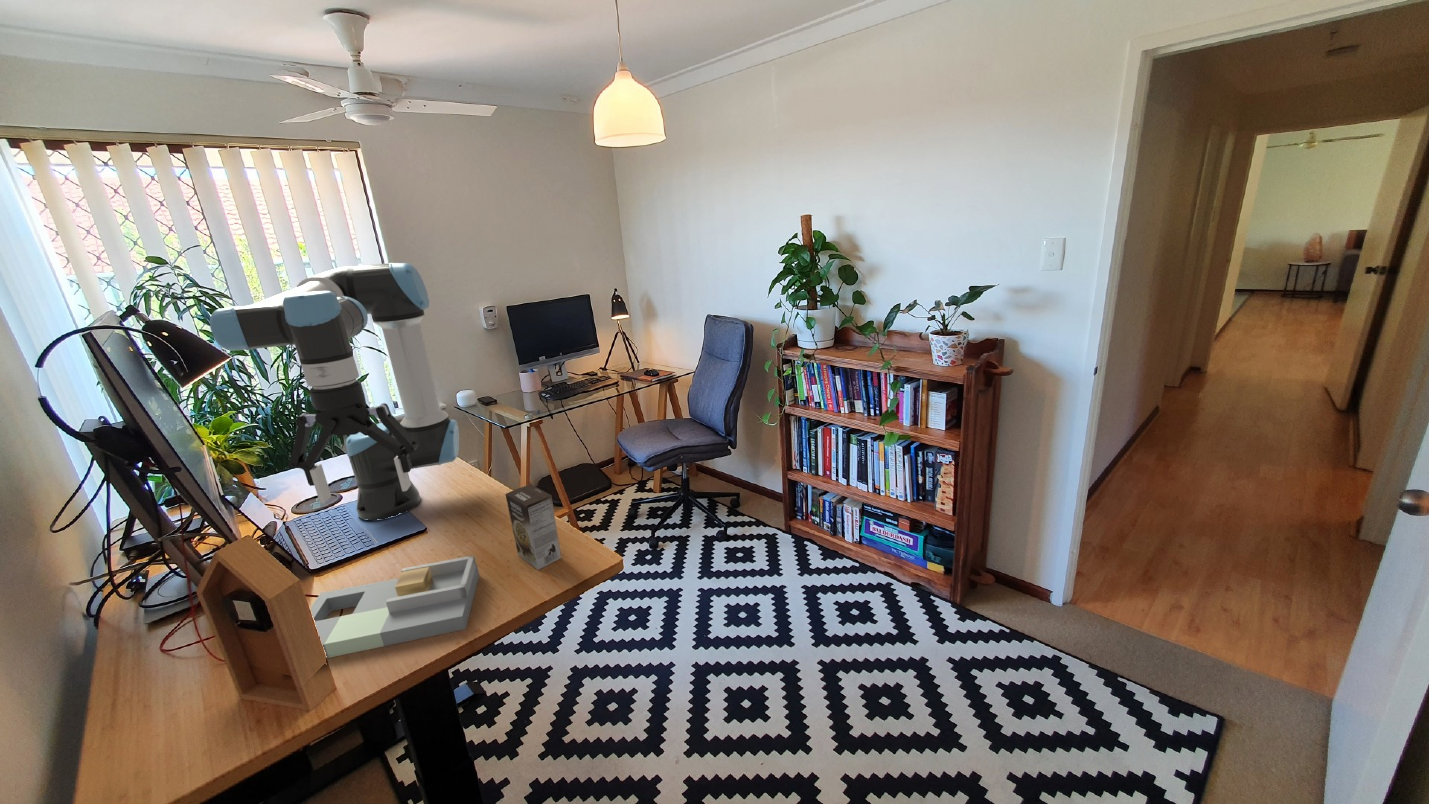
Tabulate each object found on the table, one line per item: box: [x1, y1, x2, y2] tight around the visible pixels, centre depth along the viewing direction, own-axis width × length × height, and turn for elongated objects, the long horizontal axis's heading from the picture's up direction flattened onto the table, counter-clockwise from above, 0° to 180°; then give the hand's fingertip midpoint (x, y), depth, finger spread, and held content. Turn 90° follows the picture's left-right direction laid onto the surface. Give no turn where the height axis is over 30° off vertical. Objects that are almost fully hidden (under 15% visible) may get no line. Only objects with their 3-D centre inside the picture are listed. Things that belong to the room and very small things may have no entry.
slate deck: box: [310, 554, 480, 659], centre depth 106 cm, size 17×30×6 cm, turn 104°
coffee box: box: [504, 483, 562, 571], centre depth 121 cm, size 9×6×16 cm
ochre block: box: [395, 567, 433, 597], centre depth 108 cm, size 5×5×4 cm
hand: (367, 494), depth 100 cm, fingers open, 13 cm apart
